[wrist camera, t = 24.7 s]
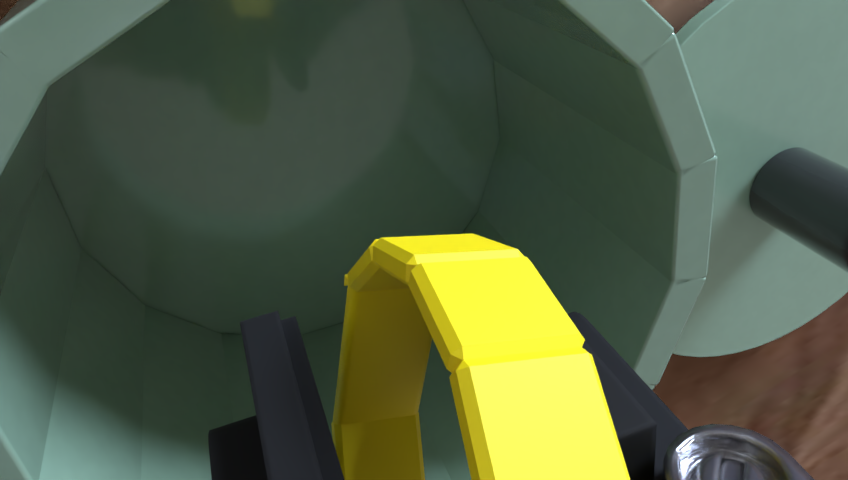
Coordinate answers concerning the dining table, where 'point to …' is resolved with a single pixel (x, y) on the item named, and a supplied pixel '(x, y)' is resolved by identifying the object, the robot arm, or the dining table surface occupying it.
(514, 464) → the watch
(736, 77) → the lid
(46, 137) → the pot
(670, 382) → the dining table surface
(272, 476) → the robot arm
